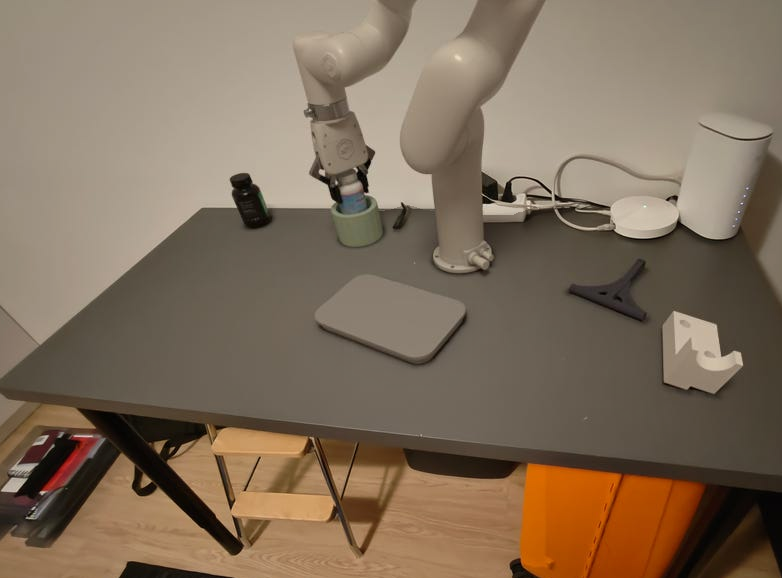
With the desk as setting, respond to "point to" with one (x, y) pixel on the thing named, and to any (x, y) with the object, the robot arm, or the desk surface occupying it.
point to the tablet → (392, 317)
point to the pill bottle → (351, 193)
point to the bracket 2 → (695, 354)
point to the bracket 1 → (615, 293)
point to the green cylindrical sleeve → (358, 224)
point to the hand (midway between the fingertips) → (351, 195)
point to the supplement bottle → (249, 201)
